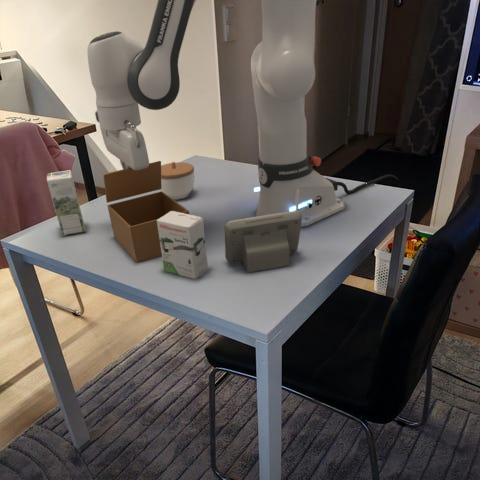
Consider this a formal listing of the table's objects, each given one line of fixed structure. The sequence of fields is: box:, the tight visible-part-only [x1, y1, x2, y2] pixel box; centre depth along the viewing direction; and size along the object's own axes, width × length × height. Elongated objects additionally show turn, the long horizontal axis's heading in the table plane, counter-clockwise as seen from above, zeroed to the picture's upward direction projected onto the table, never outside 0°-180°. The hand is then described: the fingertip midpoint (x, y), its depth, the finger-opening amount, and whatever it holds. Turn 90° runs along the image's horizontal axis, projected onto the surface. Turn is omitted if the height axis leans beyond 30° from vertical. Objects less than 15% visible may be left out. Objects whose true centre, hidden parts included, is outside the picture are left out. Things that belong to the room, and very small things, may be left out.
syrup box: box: [46, 169, 86, 237], centre depth 129 cm, size 6×6×14 cm
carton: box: [107, 190, 191, 263], centre depth 122 cm, size 16×14×8 cm
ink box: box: [157, 211, 209, 280], centre depth 108 cm, size 9×5×12 cm, turn 59°
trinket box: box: [159, 161, 195, 201], centre depth 146 cm, size 11×11×9 cm
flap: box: [102, 160, 162, 204], centre depth 122 cm, size 8×14×1 cm
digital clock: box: [224, 211, 302, 273], centre depth 109 cm, size 16×9×11 cm, turn 91°
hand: (130, 179), depth 123 cm, fingers closed
